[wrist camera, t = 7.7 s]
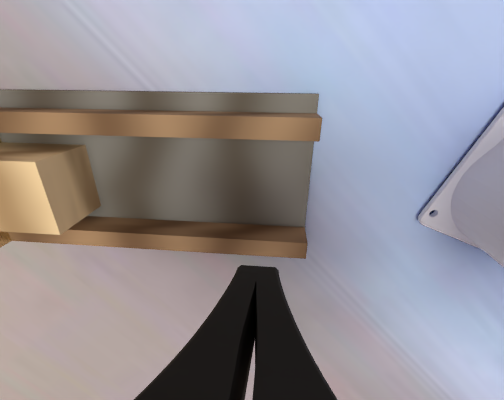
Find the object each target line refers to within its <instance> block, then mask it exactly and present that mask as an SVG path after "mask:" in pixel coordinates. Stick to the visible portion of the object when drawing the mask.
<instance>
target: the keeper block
mask: <svg viewBox="0 0 504 400" xmlns="http://www.w3.org/2000/svg"><path fill="white" fill-rule="evenodd" d="M100 206H101V203H100V199H99V196H98V192H97V188H96V184H95V180H94V176H93V172H92V169H91V165H90V161H89V157H88V153H87V149H86V146H85V145H74V144H41V143H7V142H1V143H0V231H2V232H19V233H36V234H54V235H61V234H62V233H64V232H65V231H66V230H68V229H69V228H71V227H72V226H73V225H75V224H76V223H78V222H79V221H80V220H82V219H83V218H85V217H86V216H87V215H89V214H90V213H92V212H93V211H94V210H96V209H97V208H99V207H100Z"/></svg>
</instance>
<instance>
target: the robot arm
mask: <svg viewBox="0 0 504 400" xmlns="http://www.w3.org/2000/svg"><path fill="white" fill-rule="evenodd" d="M432 210H435V211H434V213H432V214H429V213H430V212H431V211H432ZM418 221H419V222H420V223H421V224H422V225H424V226H426V227H429V228H431V229H434V230H436V231H438V232H441V233H443V234H446V235H448V236H451V237H453V238H456V239H458V240H460V241H463V242H465V243H468V244H470V245H473V246H475V247H477V248H480V249H482V250H483V251H485V252H486V253H487V254H488V255H489V256H491V257H492V258H493V259H494V260H495V261H497V262H498V263H499V264H500V265H501V266H503V267H504V107H503V108H502V110H501V111H500V112H499V113H498V115H497V116H496V117H495V119H494V120H493V121H492V122H491V124H490V125H489V126H488V127H487V129H486V130H485V131H484V133H483V134H482V135H481V136H480V138H479V139H478V140H477V141H476V143H475V144H474V145H473V147H472V148H471V149H470V150H469V152H468V153H467V154H466V156H465V157H464V158H463V159H462V161H461V162H460V163H459V164H458V166H457V167H456V168H455V170H454V171H453V172H452V173H451V175H450V176H449V177H448V179H447V180H446V181H445V182H444V184H443V185H442V186H441V187H440V189H439V190H438V191H437V193H436V194H435V195H434V196H433V198H432V199H431V200H430V202H429V203H428V204H427V205H426V207H425V208H424V209H423V210H422V212H421V213H420V214H419V216H418ZM254 341H255V378H254V390H253V400H337V398H336V397H335V395H334V393H333V392H332V390H331V388H330V387H329V385H328V383H327V382H326V380H325V379H324V377H323V375H322V373H321V371H320V370H319V368H318V366H317V364H316V363H315V361H314V359H313V357H312V355H311V353H310V351H309V350H308V348H307V346H306V344H305V342H304V340H303V338H302V335H301V333H300V331H299V329H298V327H297V325H296V323H295V320H294V318H293V315H292V313H291V311H290V308H289V306H288V303H287V301H286V298H285V295H284V292H283V289H282V286H281V282H280V278H279V272H278V270H277V269H276V267H261V266H246V265H241V266H240V267H238V269H237V271H236V273H235V275H234V277H233V279H232V281H231V283H230V284H229V286H228V288H227V289H226V291H225V293H224V294H223V296H222V297H221V299H220V300H219V302H218V303H217V305H216V306H215V308H214V309H213V311H212V312H211V313H210V315H209V316H208V317H207V319H206V320H205V321H204V323H203V324H202V325H201V327H200V328H199V329H198V331H197V332H196V333H195V334H194V336H193V337H192V338H191V339H190V340H189V342H188V343H187V344H186V345H185V346H184V348H183V349H182V350H181V351H180V352H179V353H178V354H177V356H176V357H175V358H174V359H173V360H172V361H171V362H170V363H169V364H168V365H167V367H166V368H165V369H164V370H163V371H162V372H161V373H160V374H159V375H158V376H157V377H156V378H155V379H154V380H153V381H152V382H151V383H150V384H149V385H148V386H147V387H146V388H145V389H144V390H143V391H142V392H141V393H140V394H139V395H138V396H137V397H136V398H135V399H134V400H244V399H245V394H246V388H247V382H248V376H249V370H250V364H251V358H252V353H253V347H254Z"/></svg>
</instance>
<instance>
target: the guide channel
mask: <svg viewBox="0 0 504 400" xmlns="http://www.w3.org/2000/svg"><path fill="white" fill-rule="evenodd" d="M318 97H319V94H301V93H225V92H149V91H73V90H0V139H1V141H2V142H7V143H41V144H74V145H85V146H86V149H87V153H88V157H89V161H90V165H91V169H92V172H93V176H94V180H95V184H96V188H97V192H98V196H99V199H100V203H101V206H100V207H99V208H97V209H96V210H94V211H93V212H92V213H90V214H89V215H87V216H86V217H85V218H83V219H82V220H80V221H79V222H78V223H76V224H75V225H73V226H72V227H71V228H69V229H68V230H66V231H65V232H64V233H62V234H61V235H54V234H36V233H19V232H8V233H9V236H10V238H11V240H12V241H26V242H42V243H59V244H75V245H92V246H108V247H124V248H141V249H157V250H173V251H190V252H206V253H223V254H239V255H255V256H272V257H288V258H304V259H306V252H307V238H306V232H305V219H306V209H307V200H308V191H309V181H310V172H311V163H312V153H313V144H314V141H319V140H320V131H321V123H322V118H321V117H320V116H319V115H318V114H317V107H318Z"/></svg>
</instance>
